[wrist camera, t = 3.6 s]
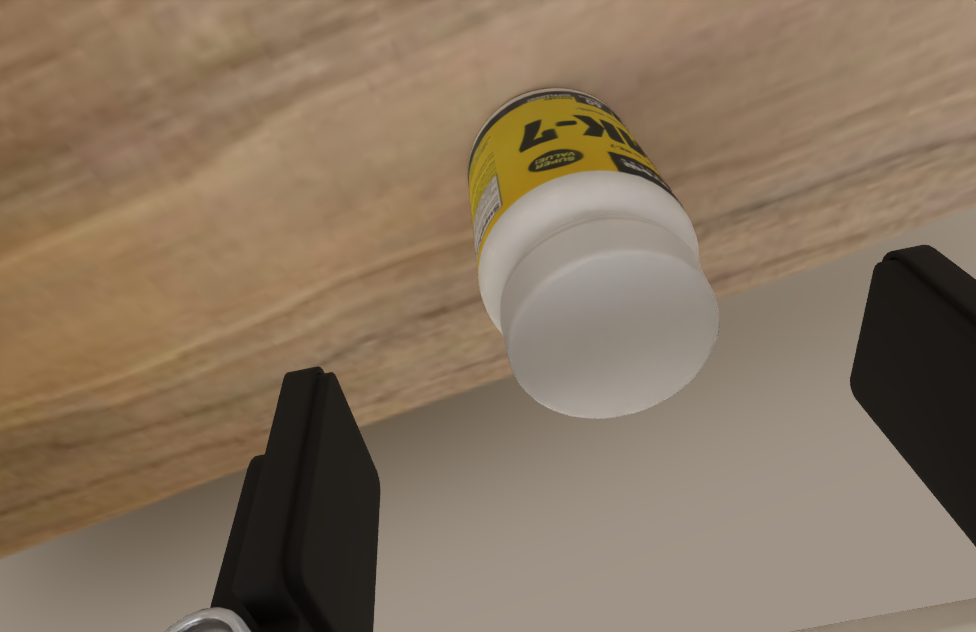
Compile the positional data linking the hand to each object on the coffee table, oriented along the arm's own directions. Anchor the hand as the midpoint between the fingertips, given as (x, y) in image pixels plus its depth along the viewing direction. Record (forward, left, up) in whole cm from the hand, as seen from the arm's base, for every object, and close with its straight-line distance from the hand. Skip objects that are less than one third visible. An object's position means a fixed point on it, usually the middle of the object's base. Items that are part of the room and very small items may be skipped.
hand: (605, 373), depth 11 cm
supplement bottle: (0, 0, -9) cm, 9 cm away
